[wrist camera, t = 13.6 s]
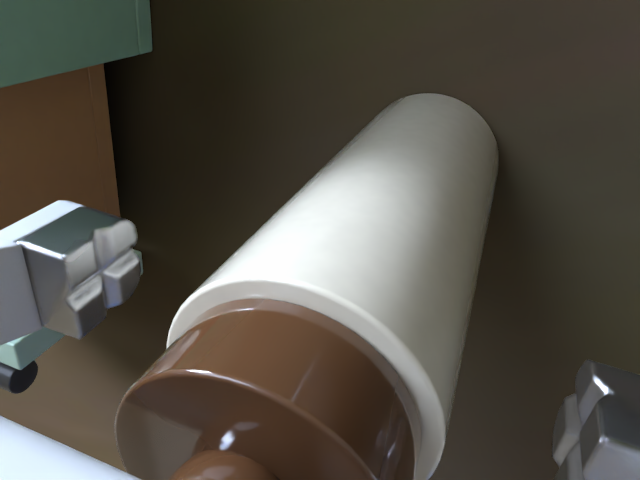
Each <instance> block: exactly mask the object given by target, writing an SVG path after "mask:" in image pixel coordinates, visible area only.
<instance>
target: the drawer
mask: <svg viewBox="0 0 640 480" xmlns="http://www.w3.org/2000/svg"><path fill="white" fill-rule="evenodd" d="M58 200H63V201H71V202H74V203H77V204H81V205H84V206H86V207H90V208H93V209H97V210H100V211H103V212H106V213H109V214H112V215H115V216H118V217H120V210H119V201H118V192H117V183H116V174H115V165H114V156H113V146H112V137H111V128H110V119H109V110H108V101H107V92H106V83H105V74H104V65H103V63H102V64H98V65H94V66H90V67H86V68H82V69H77V70H73V71H69V72H65V73H61V74H57V75H52V76H48V77H44V78H40V79H36V80H32V81H27V82H23V83H19V84H15V85H11V86H7V87H2V88H0V230H2V229H4V228H6V227H8V226H10V225H12V224H14V223H16V222H18V221H20V220H22V219H23V218H25V217H27V216H29V215H31V214H33V213H35V212H37V211H39V210H41V209H43V208H45V207H47V206H48V205H50V204H52V203H54V202H56V201H58ZM133 250H134V249H133ZM134 251H135V253H136V255H137V256H138V258H139V259H140V264H141V274H140V275H142V274H143V265H142V254H141V252H140V251H137V250H134ZM63 336H65V334H63V333H60V332H57V331H54V330H51V329H48V328H45V327H42V329H40V330H38V331H35V332H33V333H30V334H28V335H25V336H23V337H20V338H18V339H15V340H13V341H10V342H8V343H5V344H3V345H0V388H2V389H4V390H7V391H9V392H11V393H15V394H16V393H21V392H23V391H25V390H26V389H27V388H28V387H29V386H30V385H31V384H32V383H33V381H34V380H35V378H36V375H37V372H38V366H37V364H36V362H35V361H34V360H35V359H36V358H37V357H38V356H40V355H41V354H42V353H43V352H45V351H46V350H47V349H48V348H50V347H51V346H52V345H53V344H55V343H56V342H57V341H58V340H60V339H61V338H62V337H63Z"/></svg>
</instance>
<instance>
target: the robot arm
mask: <svg viewBox="0 0 640 480" xmlns="http://www.w3.org/2000/svg"><path fill="white" fill-rule="evenodd" d="M137 242H138V238H137V231H136V226H135V225H134V224H133V223H132V222H130V221H129V220H127V219H124V218H121V217H118V216H115V215H112V214H109V213H106V212H103V211H100V210H97V209H93V208H90V207H86V206H84V205H81V204H77V203H74V202H71V201H63V200H58V201H56V202H54V203H52V204H50V205H48V206H47V207H45V208H43V209H41V210H39V211H37V212H35V213H33V214H31V215H29V216H27V217H25V218H23V219H22V220H20V221H18V222H16V223H14V224H12V225H10V226H8V227H6V228H4V229H2V230H0V345H3V344H5V343H8V342H10V341H13V340H15V339H18V338H20V337H23V336H25V335H28V334H30V333H33V332H35V331H38V330H40V329H42V327H45V328H48V329H51V330H54V331H57V332H60V333H63V334H65V335H68V336H71V337H74V338H77V339H80V340H81V339H82V338H83V337H84V336H85V335H87V334H88V333H89V332H90V331H91V330H92V329H94V328H95V327H96V326H97V325H98V324H99V323H101V322H102V321H103V320H104V319H105V318H106V313H107V309H108V308H111V307H115V306H118V305H121V304H123V303H124V302H125V301H126V300H127V299H128V298H129V297H131V296H132V294H133V292H134V291H135V289H136V287H137V285H138V283H139V280H140V274H141V264H140V259H139V258H138V256H137V255H136V253H135V251H134V250H133V247H134V246H135V244H136V243H137ZM575 382H576V393H575V394H572V395H570V396H568V397H565V399H564V401H563V403H562V405H561V407H560V409H559V412H558V414H557V418H556V422H555V425H554V429H553V437H552V457H553V458H554V460H555V461H556V463H557V464H558V466H559V467H560V468H559V470H558V472H557V473H556V475H555V477H554V479H553V480H640V375H638V374H635V373H632V372H628V371H625V370H622V369H618V368H615V367H612V366H608V365H605V364H601V363H598V362H595V361H591V360H588V359H587V360H586V361H585V362H584V364H583V365H582V366H581V368H580V369H579V371H578V373H577V375H576V377H575ZM0 480H141V479H139V478H137V477H135V476H133V475H130V474H128V473H126V472H124V471H121V470H119V469H117V468H115V467H113V466H110V465H108V464H106V463H104V462H102V461H99V460H97V459H95V458H93V457H90V456H88V455H86V454H84V453H82V452H79V451H77V450H75V449H73V448H70V447H68V446H66V445H64V444H62V443H59V442H57V441H55V440H53V439H51V438H48V437H46V436H44V435H42V434H39V433H37V432H35V431H33V430H31V429H28V428H26V427H24V426H22V425H20V424H17V423H15V422H13V421H11V420H8V419H6V418H4V417H2V416H0Z"/></svg>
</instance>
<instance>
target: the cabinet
mask: <svg viewBox="0 0 640 480" xmlns="http://www.w3.org/2000/svg"><path fill="white" fill-rule="evenodd" d="M151 51H152V33H151V17H150V1H149V0H0V88H2V87H7V86H11V85H15V84H19V83H23V82H27V81H32V80H36V79H40V78H44V77H48V76H52V75H57V74H61V73H65V72H69V71H73V70H77V69H82V68H86V67H90V66H94V65H98V64H102V63H107V62H111V61H115V60H119V59H123V58H127V57H132V56H136V55H138V54H144V53H148V52H151Z"/></svg>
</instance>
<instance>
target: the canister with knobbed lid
mask: <svg viewBox="0 0 640 480" xmlns="http://www.w3.org/2000/svg"><path fill="white" fill-rule="evenodd" d="M498 167H499V154H498V148H497V143H496V140H495V138H494V135H493V133H492V131H491V129H490V127H489V126H488V124H487V123H486V122H485V120H484V119H483V118H482V117H481V116H480V115H479V114H478V113H477V112H476V111H475V110H474V109H472V108H471V107H470V106H469V105H467V104H465V103H463V102H462V101H460V100H457V99H455V98H452V97H449V96H446V95H441V94H434V93H422V94H415V95H411V96H407V97H404V98H402V99H399V100H397V101H395V102H393V103H392V104H390V105H388V106H387V107H386V108H385V109H383V110H382V111H381V112H380V113H379V114H378V115H377V116H376V117H375V118H374V119H373V120H372V121H371V122H369V123H368V124H367V125H366V126H365V127H364V128H363V129H362V130H361V131H360V132H359V133H358V134H357V135H356V136H355V137H354V138H353V139H352V140H351V141H350V142H349V143H348V144H347V145H346V146H345V147H344V148H343V149H341V150H340V151H339V152H338V153H337V154H336V155H335V156H334V157H333V158H332V159H331V160H330V161H329V162H328V163H327V164H326V165H325V166H324V167H323V168H322V169H321V170H320V171H319V172H318V173H317V174H316V175H315V176H314V177H312V178H311V179H310V180H309V181H308V182H307V183H306V184H305V185H304V186H303V187H302V188H301V189H300V190H299V191H298V192H297V193H296V194H295V195H294V196H293V197H292V198H291V199H290V200H289V201H288V202H287V203H286V204H285V205H283V206H282V207H281V208H280V209H279V210H278V211H277V212H276V213H275V214H274V215H273V216H272V217H271V218H270V219H269V220H268V221H267V222H266V223H265V224H264V225H263V226H262V227H261V228H260V229H259V230H258V231H257V232H256V233H254V234H253V235H252V236H251V237H250V238H249V239H248V240H247V241H246V242H245V243H244V244H243V245H242V246H241V247H240V248H239V249H238V250H237V251H236V252H235V253H234V254H233V255H232V256H231V257H230V258H229V259H228V260H227V261H225V262H224V263H223V264H222V265H221V266H220V267H219V268H218V269H217V270H216V271H215V272H214V273H213V274H212V275H211V276H210V277H209V278H208V279H207V280H206V281H205V282H204V283H203V284H202V285H201V286H200V287H199V288H198V289H196V290H195V291H194V292H193V293H192V294H191V295H190V296H189V297H188V298H187V300H186V301H185V302H184V303H183V304H182V305H181V306H180V308H179V310H178V311H177V313H176V315H175V316H174V318H173V321H172V324H171V327H170V329H169V333H168V339H167V349H166V350H165V351H164V352H163V353H162V354H161V355H160V357H159V358H158V359H157V360H156V361H155V362H154V363H153V364H152V365H151V366H150V367H149V368H148V369H147V370H146V371H145V372H144V373H143V374H142V375H141V376H140V377H139V379H138V380H137V381H136V382H135V383H134V384H133V385H132V386H131V387H130V388H129V389H128V390H127V391H126V393H125V394H124V396H123V398H122V399H121V401H120V404H119V407H118V410H117V413H116V418H115V439H116V443H117V448H118V452H119V454H120V457H121V460H122V463H123V465H124V467H125V469H126V471H127V473H128V474H130V475H133V476H135V477H137V478H139V479H141V480H429V479H430V477H431V476H432V475H433V473H434V472H435V471H436V469H437V467H438V465H439V463H440V460H441V458H442V455H443V451H444V447H445V442H446V437H447V432H448V427H449V422H450V416H451V411H452V406H453V401H454V396H455V391H456V385H457V380H458V375H459V370H460V365H461V360H462V355H463V349H464V344H465V339H466V334H467V329H468V324H469V318H470V313H471V308H472V303H473V298H474V293H475V288H476V282H477V277H478V272H479V267H480V262H481V257H482V251H483V246H484V241H485V236H486V231H487V226H488V220H489V215H490V210H491V205H492V200H493V195H494V190H495V184H496V179H497V174H498Z"/></svg>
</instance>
